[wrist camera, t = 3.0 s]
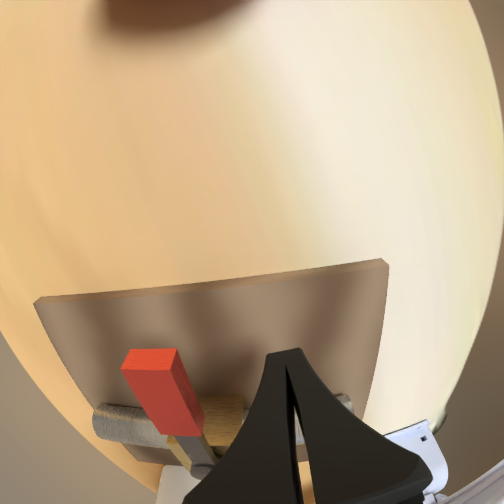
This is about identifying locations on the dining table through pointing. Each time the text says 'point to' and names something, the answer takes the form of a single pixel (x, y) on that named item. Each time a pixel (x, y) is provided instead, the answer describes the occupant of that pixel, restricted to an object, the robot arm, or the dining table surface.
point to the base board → (225, 334)
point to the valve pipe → (146, 434)
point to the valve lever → (170, 402)
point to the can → (174, 485)
